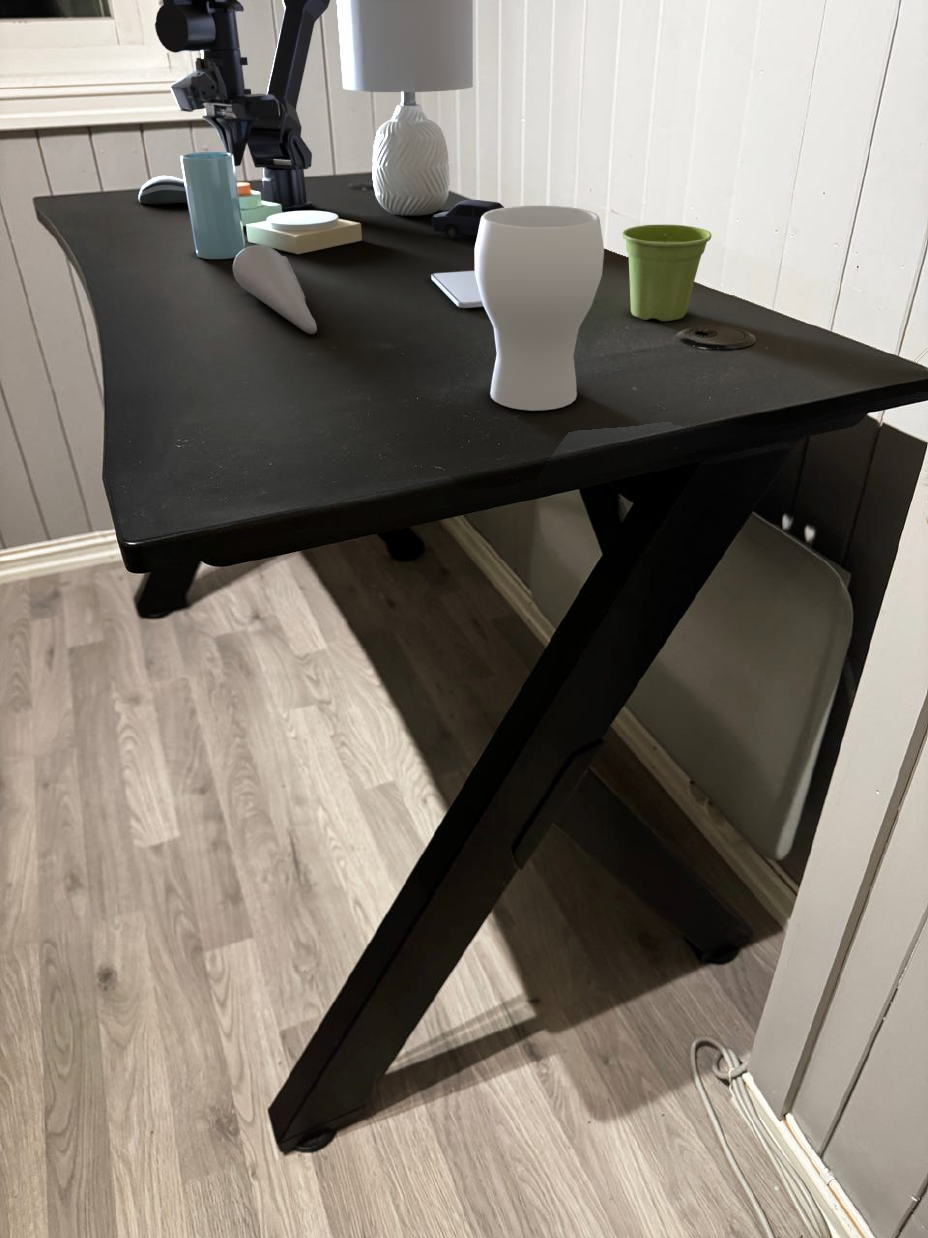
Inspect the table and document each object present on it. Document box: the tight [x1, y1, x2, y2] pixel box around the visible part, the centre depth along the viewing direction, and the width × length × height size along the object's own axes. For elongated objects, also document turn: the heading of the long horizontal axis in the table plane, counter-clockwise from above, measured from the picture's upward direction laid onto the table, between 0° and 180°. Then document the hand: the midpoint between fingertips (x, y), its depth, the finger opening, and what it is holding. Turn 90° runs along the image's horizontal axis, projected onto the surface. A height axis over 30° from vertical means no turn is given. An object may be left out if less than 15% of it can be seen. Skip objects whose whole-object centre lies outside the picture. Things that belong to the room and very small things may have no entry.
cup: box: [474, 204, 605, 412], centre depth 77 cm, size 11×11×15 cm
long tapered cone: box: [232, 244, 318, 335], centre depth 102 cm, size 6×6×19 cm
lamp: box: [336, 0, 474, 217], centre depth 142 cm, size 20×20×37 cm
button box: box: [239, 189, 283, 227], centre depth 146 cm, size 10×8×4 cm
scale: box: [245, 210, 363, 255], centre depth 133 cm, size 12×12×3 cm
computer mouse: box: [138, 175, 188, 205], centre depth 161 cm, size 7×12×4 cm, turn 102°
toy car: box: [430, 199, 506, 240], centre depth 134 cm, size 6×15×5 cm, turn 62°
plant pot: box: [621, 223, 713, 322], centre depth 99 cm, size 9×9×9 cm
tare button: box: [237, 182, 252, 196], centre depth 145 cm, size 4×4×2 cm
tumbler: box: [179, 151, 247, 260], centre depth 125 cm, size 7×7×12 cm
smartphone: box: [430, 269, 484, 309], centre depth 110 cm, size 7×1×15 cm
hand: (236, 165), depth 143 cm, fingers closed
